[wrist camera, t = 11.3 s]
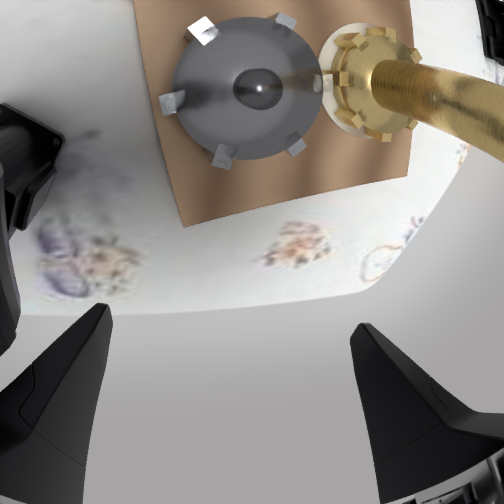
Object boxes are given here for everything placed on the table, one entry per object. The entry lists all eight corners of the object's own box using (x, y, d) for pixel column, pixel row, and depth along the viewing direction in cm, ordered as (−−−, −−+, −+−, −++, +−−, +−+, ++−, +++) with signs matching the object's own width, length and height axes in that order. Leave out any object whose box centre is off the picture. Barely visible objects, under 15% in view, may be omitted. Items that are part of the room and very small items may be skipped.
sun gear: (176, 164, 15) (180, 192, 12) (150, 36, 10) (144, 22, 7) (310, 137, 17) (345, 157, 14) (301, 21, 12) (340, 12, 8)
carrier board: (181, 217, 19) (183, 229, 18) (133, -15, 9) (130, -24, 7) (396, 169, 22) (409, 177, 21) (395, -5, 12) (411, -6, 10)
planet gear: (297, 75, 14) (496, 128, 4) (369, 8, 11) (542, 24, 2) (366, 154, 18) (502, 252, 9) (422, 90, 16) (556, 150, 6)
